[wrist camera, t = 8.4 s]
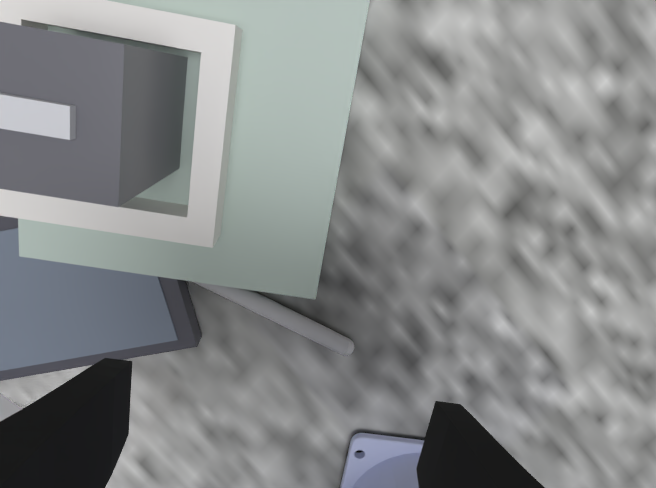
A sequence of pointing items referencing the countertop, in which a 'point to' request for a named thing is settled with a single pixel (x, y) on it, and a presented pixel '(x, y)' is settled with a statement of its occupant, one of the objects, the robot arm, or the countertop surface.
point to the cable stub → (285, 317)
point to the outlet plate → (217, 142)
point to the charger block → (87, 115)
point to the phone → (83, 313)
